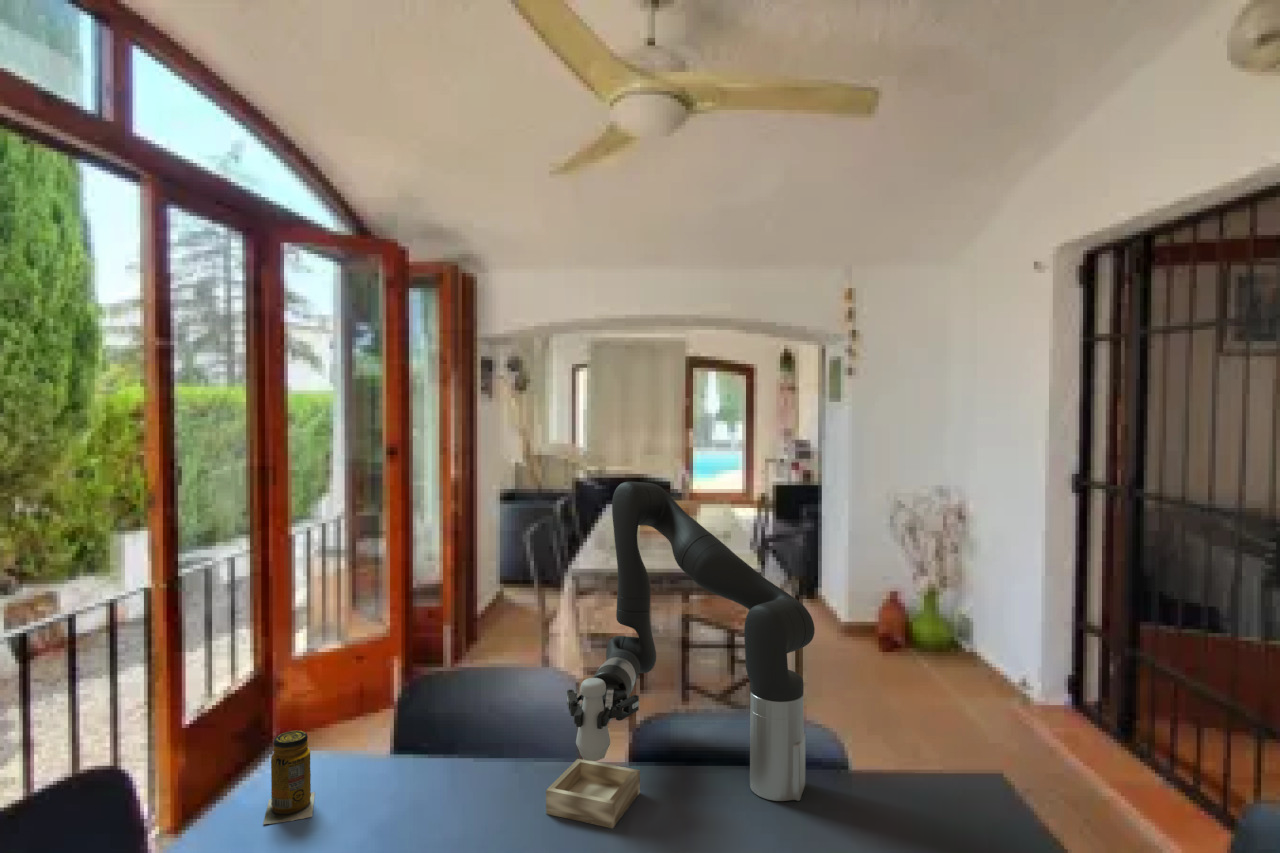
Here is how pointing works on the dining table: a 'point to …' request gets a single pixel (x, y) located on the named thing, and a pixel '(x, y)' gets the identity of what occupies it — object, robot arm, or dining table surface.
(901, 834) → the dining table surface
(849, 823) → the dining table surface
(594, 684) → the salt shaker
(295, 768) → the condiment
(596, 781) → the serving bin
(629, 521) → the robot arm
